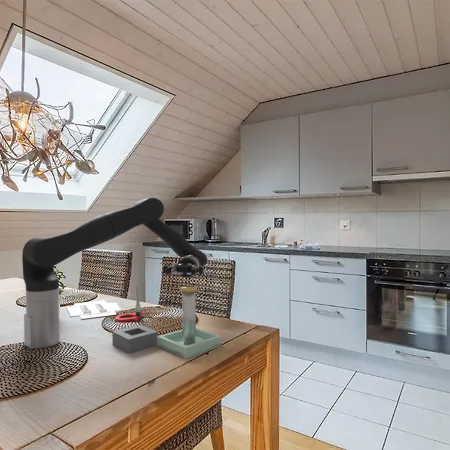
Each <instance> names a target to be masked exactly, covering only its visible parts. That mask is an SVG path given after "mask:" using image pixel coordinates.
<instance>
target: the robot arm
mask: <svg viewBox="0 0 450 450" xmlns="http://www.w3.org/2000/svg"><path fill="white" fill-rule="evenodd" d="M164 211H165V205H164V203H163V202H162V201H161V200H160V199H158V198H156V197H146V198H142V199H140V200H138V201H136V202H134V204H133V206H131V207H127V208H122V209H119V210H114V211H110V212H107V213H104V214H100V215H97V216H95V217H92V218H90V219H88V220H86V221H84V222H83V223H81V224H80V225H79V226H77V227H76V228H74V229H73V230H70V231H68V232H66V233H65V232H64V233H62V234H59V235H54V236H52V237H51V236H50V237H39V236H38V237H33V238H31V239H29V240H27V241H26V243H25V244H24V245H23V248H22V253H21V254H22V255H21V259H22V260H21V261H22V263H21V264H22V277H23V281H24V284H25V311H26V312H25V313H24V314H23V324H24V325H23V329H24V330H23V332H24V335H23V337H24V338H23V340H24V346H26V347H27V348H28V349H29V350H33V349H35V350H36V349H43V348H49V347H53V346H55V345H57V344H59V343H60V336H61V335H60V280H59V278H58V277H57V274H56V272H55V267H54V266H58V265H59V264H60V263H62V262H64V261H65V260H67V259H68V258H69V259H70V257H72V256H74V255H76V254H78V253H80V252H82V251H85V250H88V249H91V248H94V247H96V246H99V245H101V244H104V243H106V242H108V241H111V240H113V239H114V238H117V237H119V236H121V235H123V234H125V233H127V232H129V231H130V230H132V229H134V228H136V227H138V226H140V225H144V227H146V228H148V230H150V231H152V232H153V234H155V235H156V236H157V237H158V238H160V239H161V240H162V241H163V242H164V243H165V244H166V245H167V246H168V247H169V248H170V249H171V250H172V251H173V252H174V253H175V255H177V256H178V257H179V258H181V259H179V261H178V262H177V263H175V264H169V263H167V264H165V265H163V267H162V274H166V275H170V274H172V275H179V276H180V277H182V278H186V279H187V278H191V277H193V276H195V275H198V273H199V275H203V274H204V269H205V268H204V267H205V265H207V264H208V256H207V255H206V254H205V253H204V252H203V251H201V250H200V249H198V248H197V247H195V246H193V245H192V244H190V243H191V242H189V241H188V240H187V239H186V237H185V236H184V235H182V234H181V233H180V232H178V231H177V230H176V229H174V228H173V227H171V226H169V225H168V224H166V223H165V222H164V221H162V220H161V219H160V218H161V217H162V216H163V214H164Z"/></svg>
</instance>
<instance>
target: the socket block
mask: <svg viewBox="0 0 450 450" xmlns="http://www.w3.org/2000/svg"><path fill="white" fill-rule="evenodd" d="M157 336H159V331H157V330H155V329H152V328H150V327H148V326H145V325H142V324H139V325H134V326H131V327H126V328H122V329H118V330H114V331H112V336H111V337H112V346H115V347H116V348H119V349H121V350H122V351H124V352H126V353H128V354H131V353H134V352H137V351H141V350H143V349H144V350H145V349H148V348H151V347H154V346H157Z"/></svg>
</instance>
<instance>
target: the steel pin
mask: <svg viewBox="0 0 450 450" xmlns="http://www.w3.org/2000/svg"><path fill="white" fill-rule="evenodd" d="M179 288H180V289H179V291H180V293H181V296H182V297H181V305H182V311H181V312H182V313H181V315H182V321H181V322H182V328H181V330H182V337H183V344H184V345H191V344H194V343H196V328H197V327H196V293H197V292H198V286H197V285H192V284H191V285H190V284H189V285H188V284H187V285H182V286H180V287H179Z"/></svg>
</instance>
